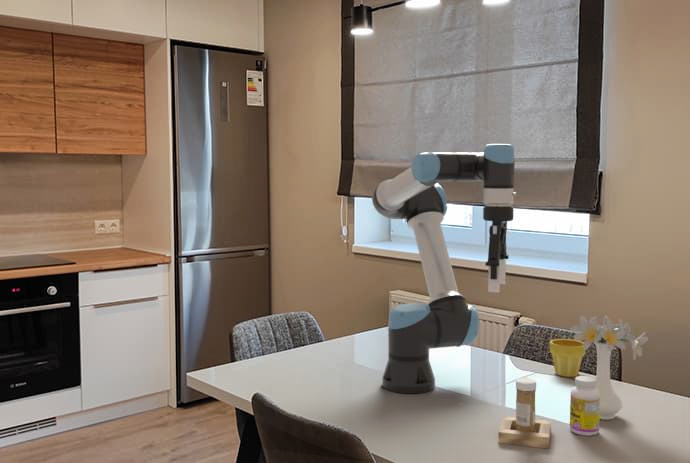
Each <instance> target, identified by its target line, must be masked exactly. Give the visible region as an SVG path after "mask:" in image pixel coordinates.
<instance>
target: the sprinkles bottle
mask: <svg viewBox="0 0 690 463" xmlns="http://www.w3.org/2000/svg"><path fill="white" fill-rule="evenodd" d="M515 389H516V390H515V391H516V395H515V396H516V397H515V398H516V399H515V417H516V430H517V431H526V432H535V420H536V391H537V390H536V389H537V380H535V379H532V378H529V377H527V378H525V377H521V378H518V379H516V380H515Z"/></svg>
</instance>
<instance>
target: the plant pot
mask: <svg viewBox="0 0 690 463" xmlns="http://www.w3.org/2000/svg"><path fill="white" fill-rule="evenodd" d="M583 343H584V341H576V340H574V339H569V338H556V339H551V340H550V341H549V352H550V353H551V355H552V356H551V357H552V361H553V366H554V373H555V375H558V376H560V377H566V378H576V377H578V376H579V372H580V368H581V364H582V360H583V357H584V356H585V355H586V350H585V349H584V348H583Z"/></svg>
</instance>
